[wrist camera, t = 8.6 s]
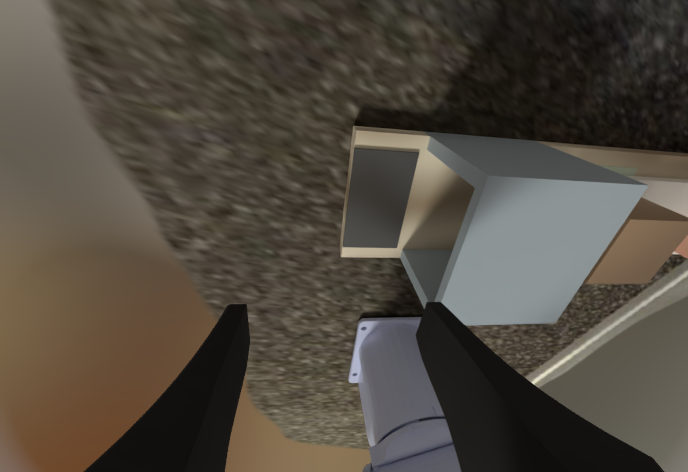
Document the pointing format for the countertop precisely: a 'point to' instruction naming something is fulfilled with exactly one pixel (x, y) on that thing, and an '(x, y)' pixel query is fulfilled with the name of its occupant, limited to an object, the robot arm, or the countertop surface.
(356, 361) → the robot arm
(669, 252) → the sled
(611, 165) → the board
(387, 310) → the countertop surface
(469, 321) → the tunnel
